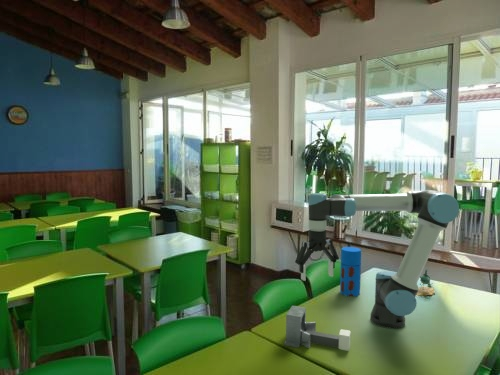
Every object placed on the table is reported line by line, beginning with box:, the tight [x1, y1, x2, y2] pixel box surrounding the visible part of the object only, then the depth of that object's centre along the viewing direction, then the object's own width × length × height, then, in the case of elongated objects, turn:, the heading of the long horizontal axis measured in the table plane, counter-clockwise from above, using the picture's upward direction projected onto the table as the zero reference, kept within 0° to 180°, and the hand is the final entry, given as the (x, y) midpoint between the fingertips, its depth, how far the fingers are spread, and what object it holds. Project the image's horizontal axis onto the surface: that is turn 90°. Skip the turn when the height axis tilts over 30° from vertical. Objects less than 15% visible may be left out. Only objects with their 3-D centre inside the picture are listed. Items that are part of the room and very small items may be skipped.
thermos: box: [339, 246, 362, 297], centre depth 207 cm, size 11×11×25 cm
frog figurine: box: [415, 268, 436, 297], centre depth 208 cm, size 10×18×15 cm, turn 121°
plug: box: [305, 328, 352, 352], centre depth 152 cm, size 18×5×6 cm, turn 69°
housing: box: [283, 305, 317, 349], centre depth 155 cm, size 10×15×12 cm
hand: (317, 277), depth 161 cm, fingers open, 13 cm apart
